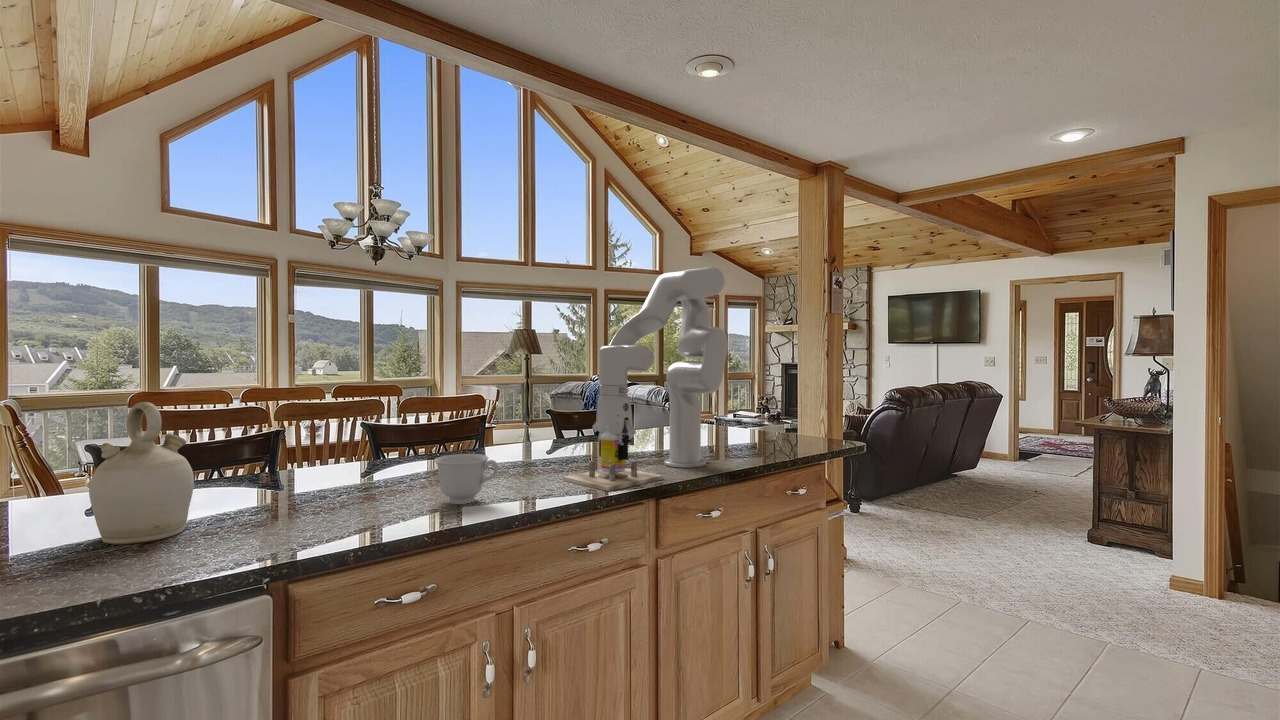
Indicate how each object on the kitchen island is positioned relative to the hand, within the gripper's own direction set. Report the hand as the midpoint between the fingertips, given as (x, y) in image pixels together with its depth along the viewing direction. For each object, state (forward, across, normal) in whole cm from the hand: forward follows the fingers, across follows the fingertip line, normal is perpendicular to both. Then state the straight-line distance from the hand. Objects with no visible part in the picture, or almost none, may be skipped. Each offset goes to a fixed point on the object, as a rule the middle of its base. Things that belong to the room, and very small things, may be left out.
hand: (613, 457), depth 166 cm
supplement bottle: (+4, 0, 0) cm, 4 cm away
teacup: (+6, +6, +40) cm, 41 cm away
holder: (+6, 0, 0) cm, 6 cm away
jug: (+6, +26, +96) cm, 100 cm away
